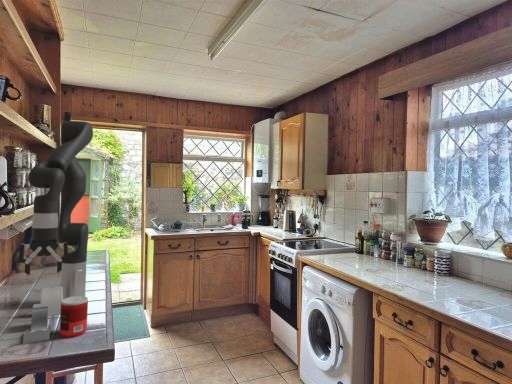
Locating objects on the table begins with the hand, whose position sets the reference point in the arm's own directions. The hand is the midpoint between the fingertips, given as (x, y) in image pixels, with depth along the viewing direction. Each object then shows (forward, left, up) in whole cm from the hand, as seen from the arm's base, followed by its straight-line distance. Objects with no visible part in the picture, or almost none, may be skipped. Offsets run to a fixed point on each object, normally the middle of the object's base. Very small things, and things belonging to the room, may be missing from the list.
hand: (43, 273), depth 115 cm
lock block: (0, -1, -18) cm, 18 cm away
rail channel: (+8, -1, -18) cm, 20 cm away
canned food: (+10, +9, -18) cm, 23 cm away
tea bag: (-12, +2, -18) cm, 22 cm away
